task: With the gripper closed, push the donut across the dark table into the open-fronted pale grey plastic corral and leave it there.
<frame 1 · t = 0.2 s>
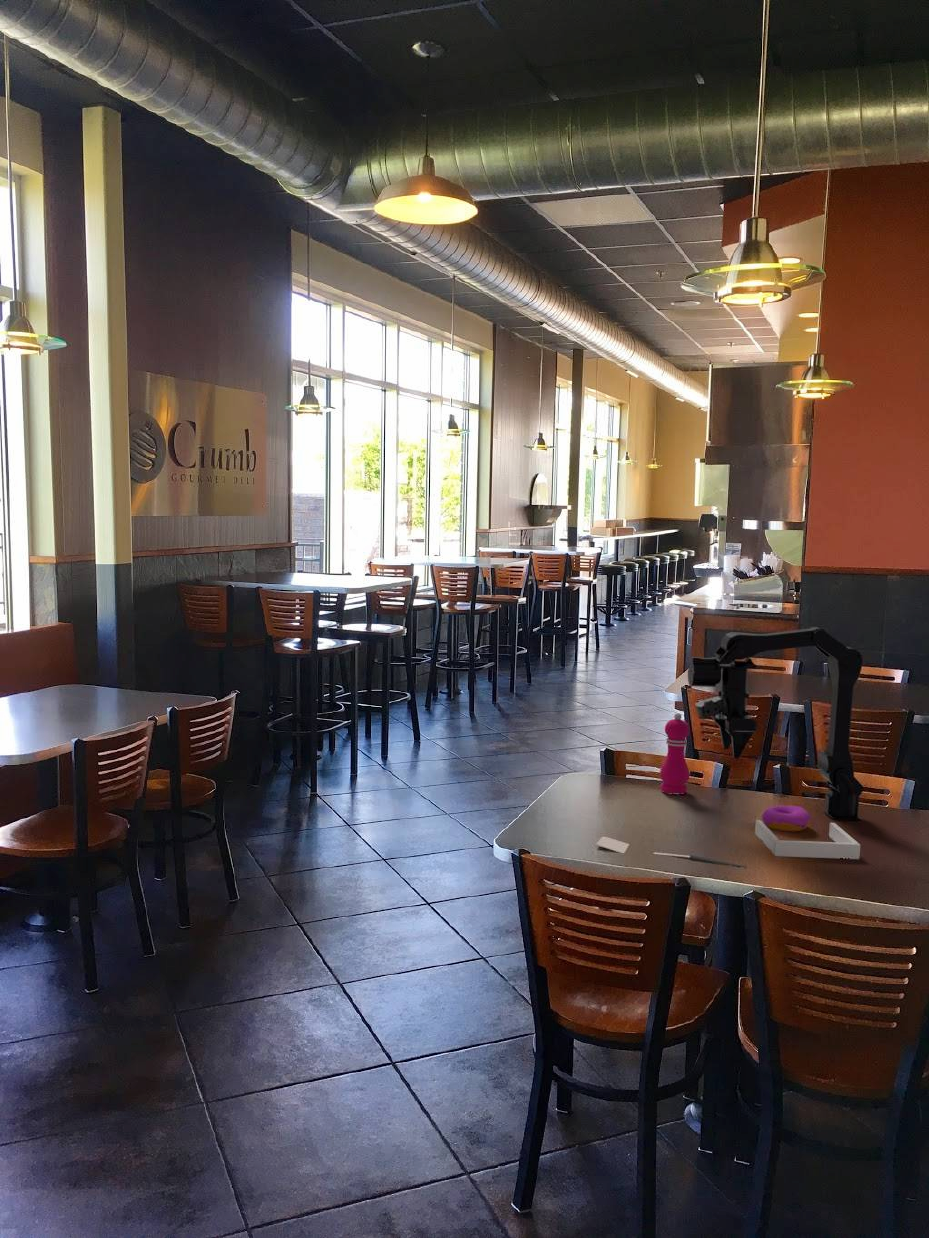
hand: (731, 753, 225), 14 cm above the table, tool pointing down, fingers open, 9 cm apart
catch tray: (804, 845, 203), on the table
pepper mill: (673, 792, 242), on the table
donut: (786, 828, 216), on the table
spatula: (670, 858, 195), on the table
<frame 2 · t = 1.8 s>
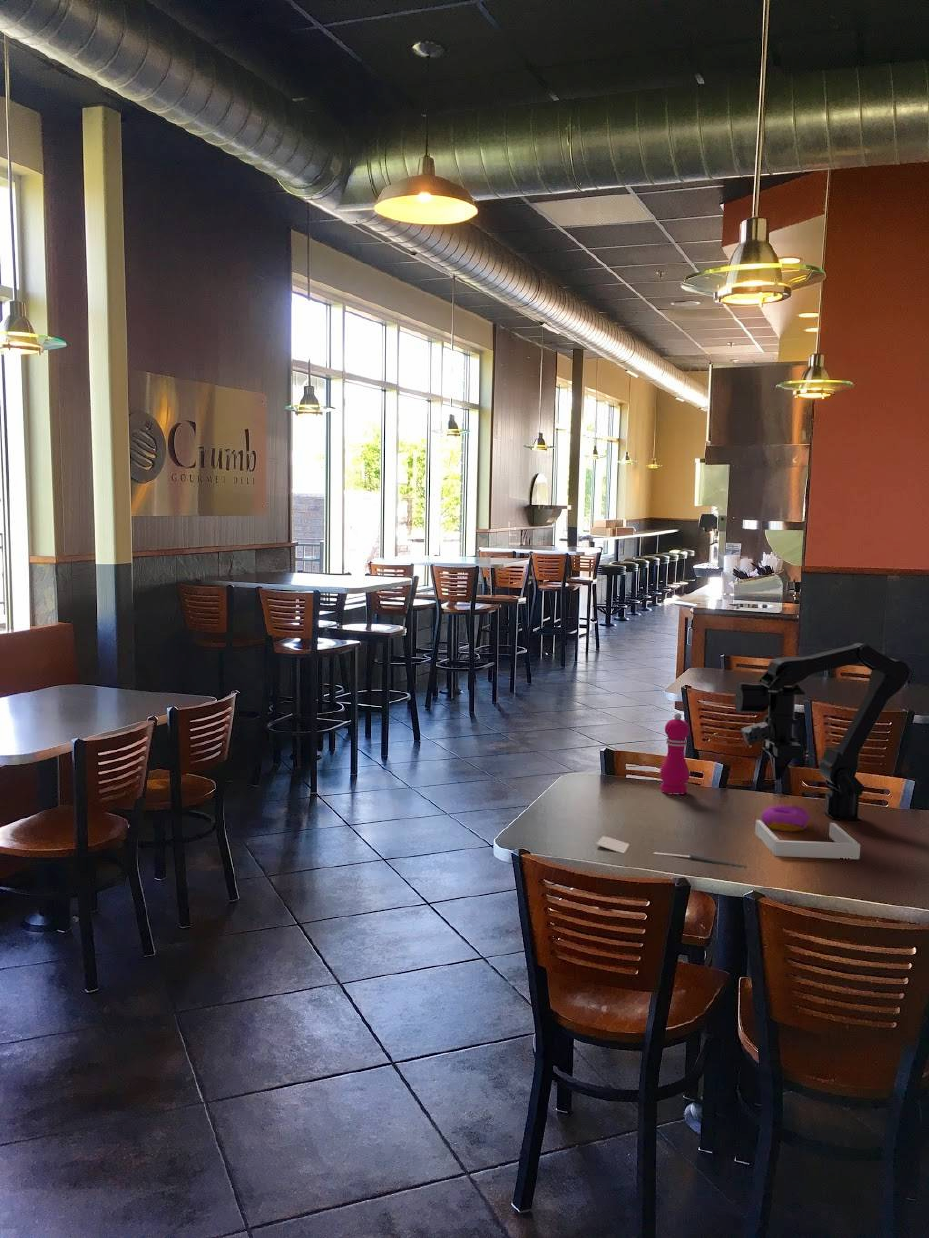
hand: (777, 779, 224), 8 cm above the table, tool pointing down, fingers closed
nothing on the table moved.
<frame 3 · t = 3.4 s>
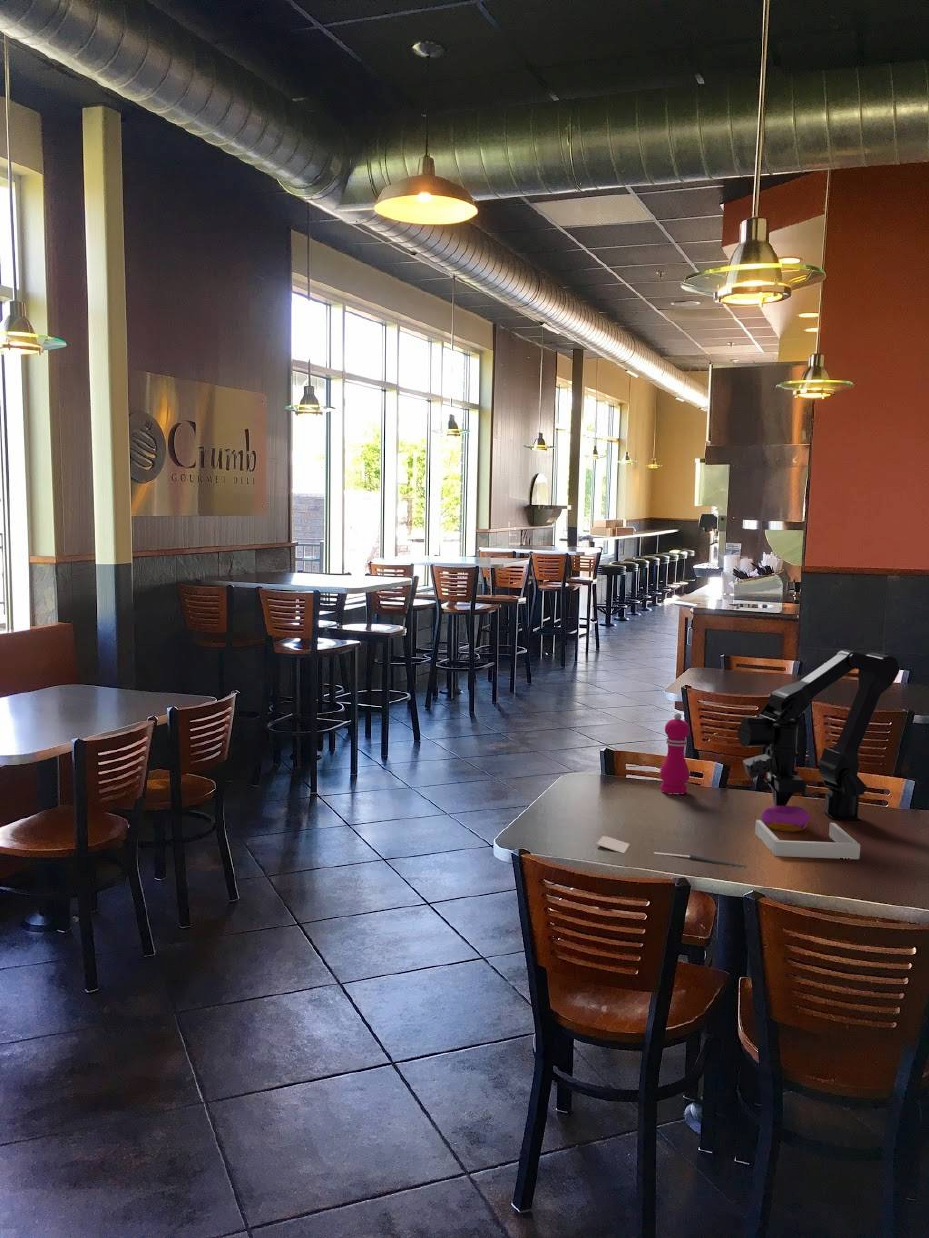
hand: (778, 812, 222), 2 cm above the table, tool pointing down, fingers closed
donut: (785, 828, 216), on the table, touching gripper
everything else where it was.
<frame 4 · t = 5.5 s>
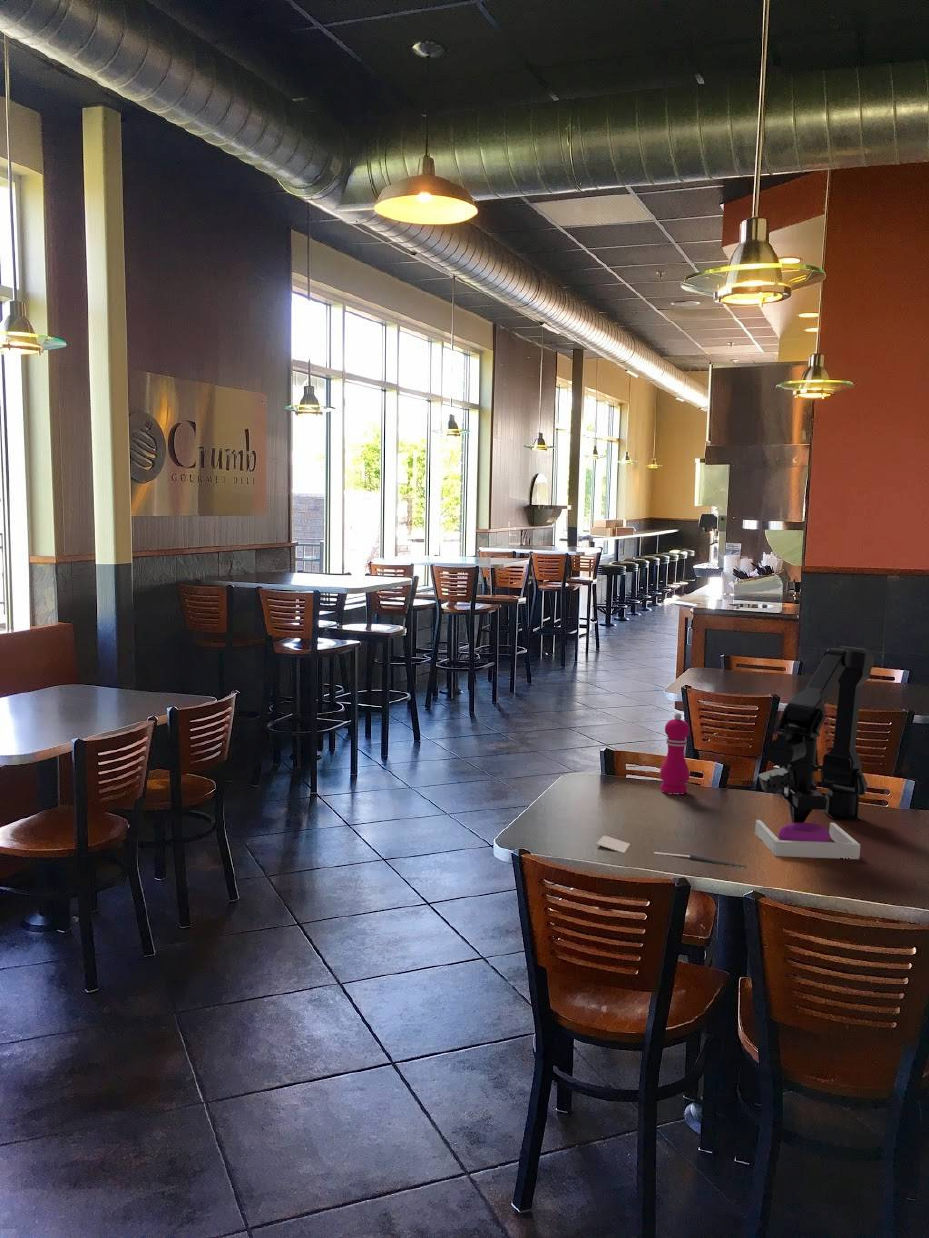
hand: (796, 829, 209), 2 cm above the table, tool pointing down, fingers closed
donut: (804, 847, 203), on the table
everything else where it was.
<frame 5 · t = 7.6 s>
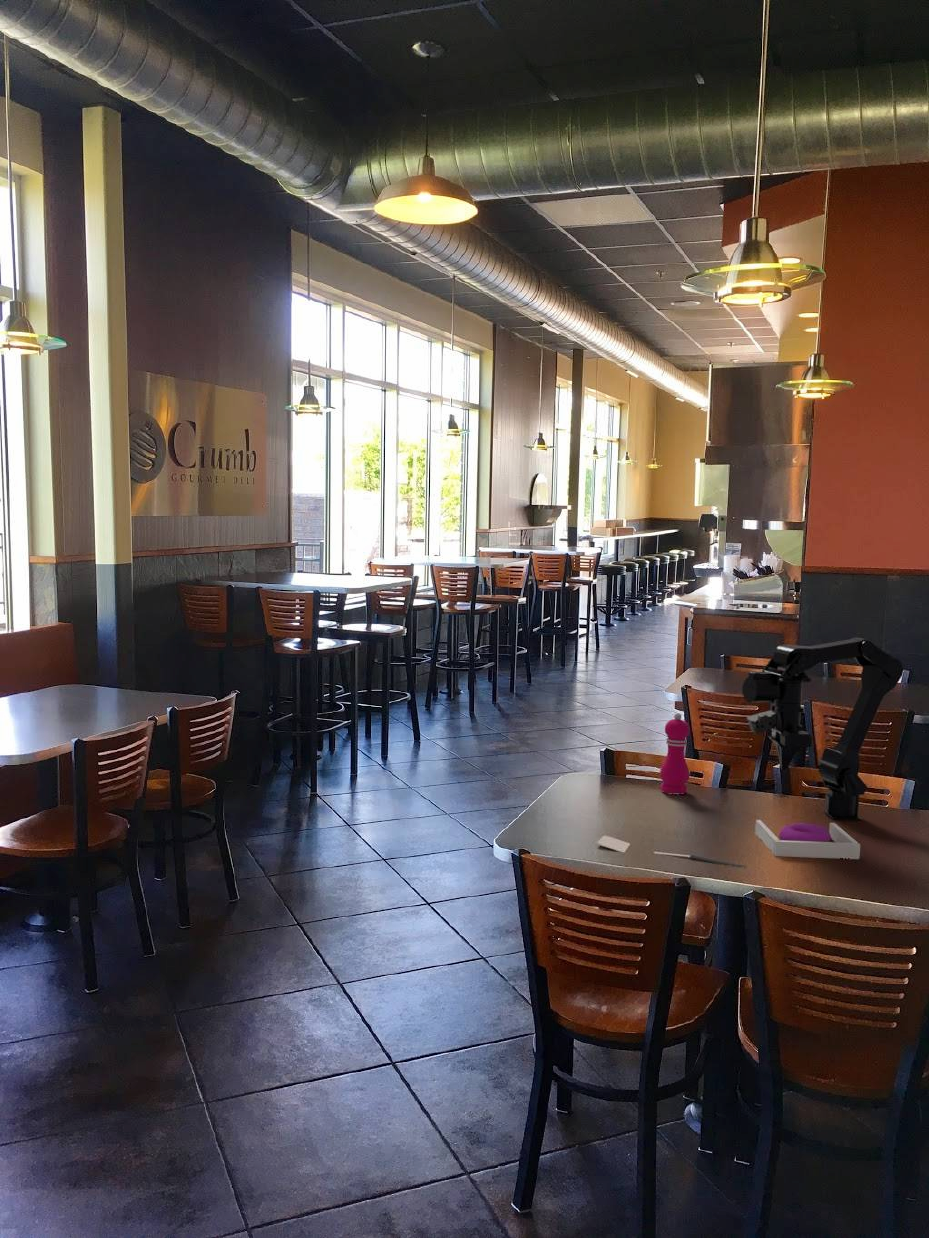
hand: (783, 769, 220), 12 cm above the table, tool pointing down, fingers closed
nothing on the table moved.
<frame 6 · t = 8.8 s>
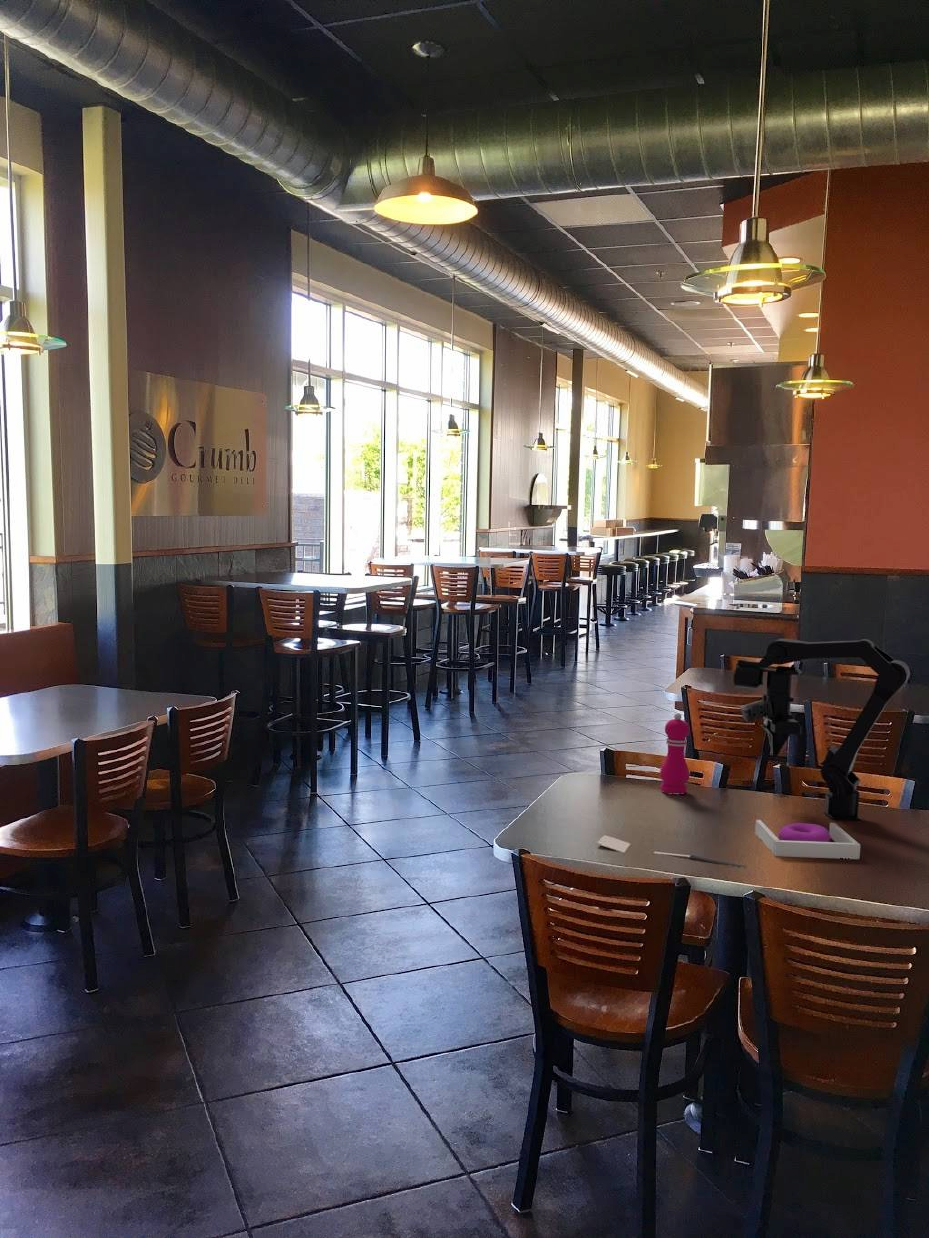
hand: (774, 755, 233), 12 cm above the table, tool pointing down, fingers closed
nothing on the table moved.
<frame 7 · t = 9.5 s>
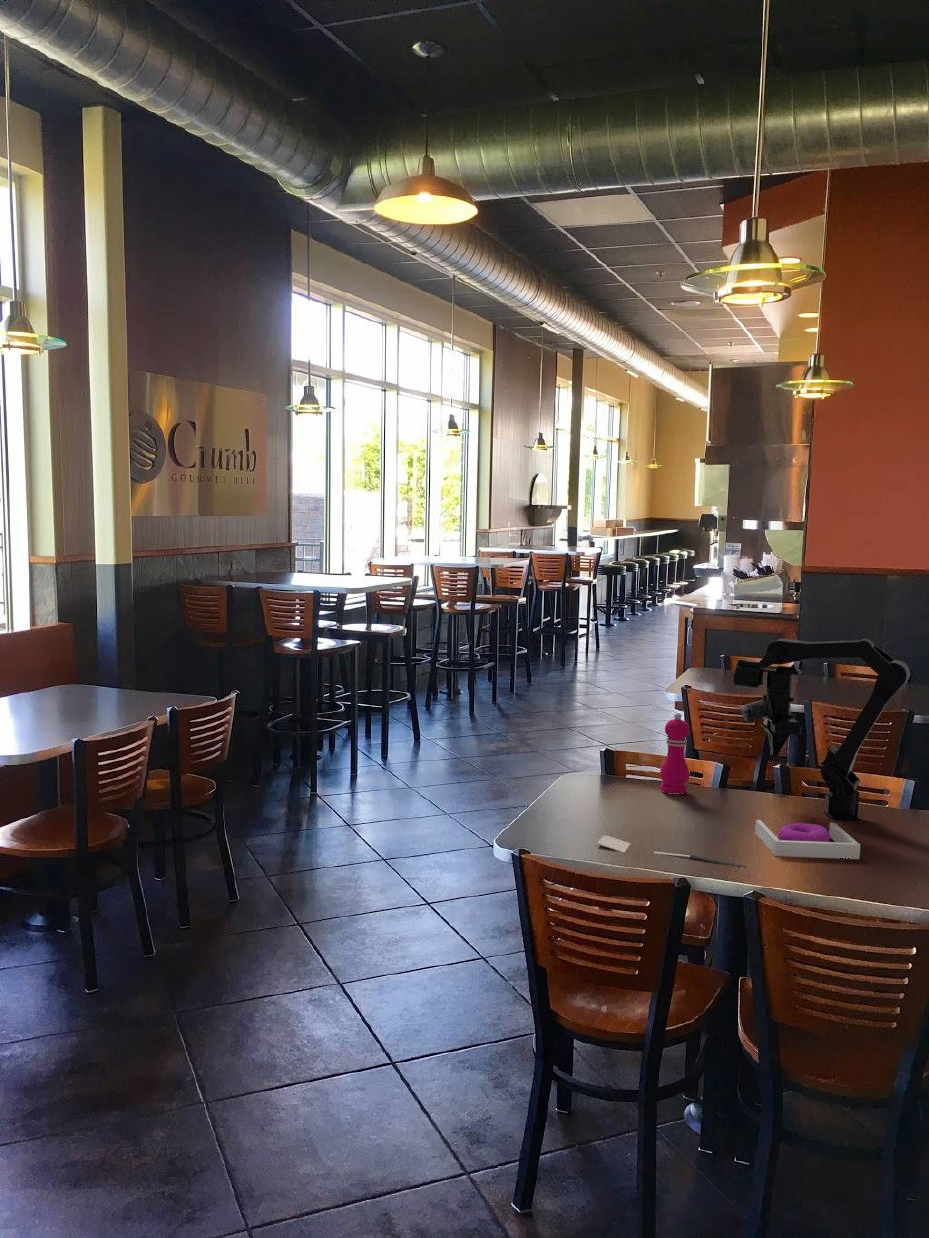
hand: (774, 755, 233), 12 cm above the table, tool pointing down, fingers closed
nothing on the table moved.
at the end: donut inside the target area on the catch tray (0.7 cm from its centre), point 0.0 cm above the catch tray's base; donut moved 13.3 cm from its start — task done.
